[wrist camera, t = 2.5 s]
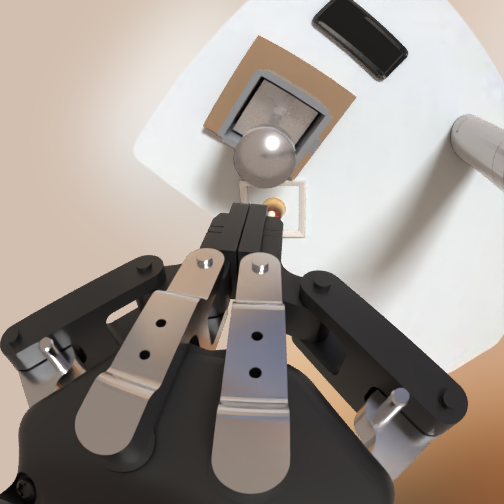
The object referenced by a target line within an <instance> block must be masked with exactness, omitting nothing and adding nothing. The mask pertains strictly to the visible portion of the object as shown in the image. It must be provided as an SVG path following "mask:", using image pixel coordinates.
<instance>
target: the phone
mask: <svg viewBox="0 0 504 504" xmlns="http://www.w3.org/2000/svg"><path fill="white" fill-rule="evenodd" d="M313 20H314V23H315V24H316V25H317V26H319V27H320V28H321V29H323V30H324V31H325V32H326V33H328V34H329V35H330V36H332V37H333V38H334V39H335V40H337V41H338V42H339V43H340V44H341V45H343V46H344V47H345V48H346V49H347V50H348V51H350V52H351V53H352V54H353V55H354V56H355V57H356V58H358V59H359V60H360V61H361V62H362V63H363V64H364V65H365V66H366V67H367V68H368V69H369V70H371V71H372V72H373V73H374V74H375V75H376V76H377V77H378V78H383V79H384V78H386V77H388V76H389V74H390V73H391V72H392V71H393V70H394V69H395V68H396V67H397V66H398V65H400V64H401V63H402V62H403V61H404V60H405V59H406V58H407V56H408V51H407V49H406V48H405V47H404V46H403V45H402V44H401V43H400V42H399V41H398V40H397V39H396V38H395V37H394V36H393V35H392V34H391V33H390V32H389V31H388V30H387V29H386V28H385V27H384V26H382V25H381V24H380V23H379V22H378V21H377V20H376V19H375V18H374V17H372V16H371V15H370V14H369V13H368V12H367V11H365V10H364V9H363V8H362V7H361V6H359V5H358V4H357V3H356V2H354V1H353V0H330V1H329V2H328V3H327V4H326V5H325V6H324V7H323V8H322V9H321V10H320V11H319V12H318V13H317V14H316V15H315V16H314V19H313Z"/></svg>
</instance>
